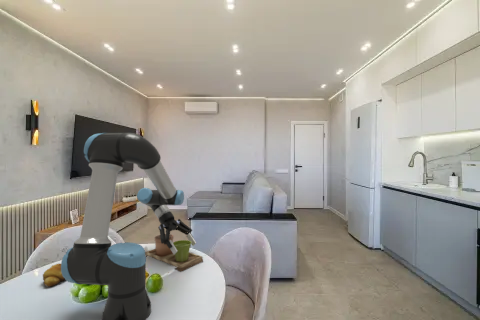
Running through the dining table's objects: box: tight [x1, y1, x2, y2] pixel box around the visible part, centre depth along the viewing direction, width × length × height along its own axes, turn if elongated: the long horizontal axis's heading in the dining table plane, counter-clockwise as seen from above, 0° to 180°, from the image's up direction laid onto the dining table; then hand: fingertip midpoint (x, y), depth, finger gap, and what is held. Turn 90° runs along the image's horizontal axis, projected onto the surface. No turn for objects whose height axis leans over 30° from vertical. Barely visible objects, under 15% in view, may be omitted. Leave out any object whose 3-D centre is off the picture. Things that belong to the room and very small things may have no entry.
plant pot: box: [173, 239, 192, 262], centre depth 128 cm, size 9×9×9 cm
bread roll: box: [42, 263, 66, 287], centre depth 109 cm, size 13×10×8 cm
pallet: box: [145, 248, 204, 273], centre depth 133 cm, size 30×14×3 cm, turn 53°
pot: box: [154, 233, 175, 256], centre depth 137 cm, size 10×10×9 cm
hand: (185, 248), depth 127 cm, fingers open, 13 cm apart
